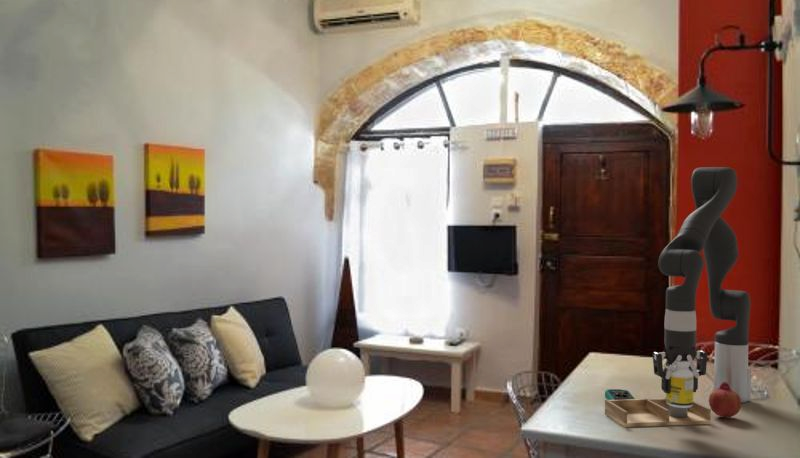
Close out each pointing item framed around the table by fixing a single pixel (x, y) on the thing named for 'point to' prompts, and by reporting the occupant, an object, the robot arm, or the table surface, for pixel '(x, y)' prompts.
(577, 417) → the table surface
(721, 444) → the table surface
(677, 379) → the pill bottle
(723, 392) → the fruit
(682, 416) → the grey cylinder
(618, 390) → the digital multimeter
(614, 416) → the divided wooden tray
